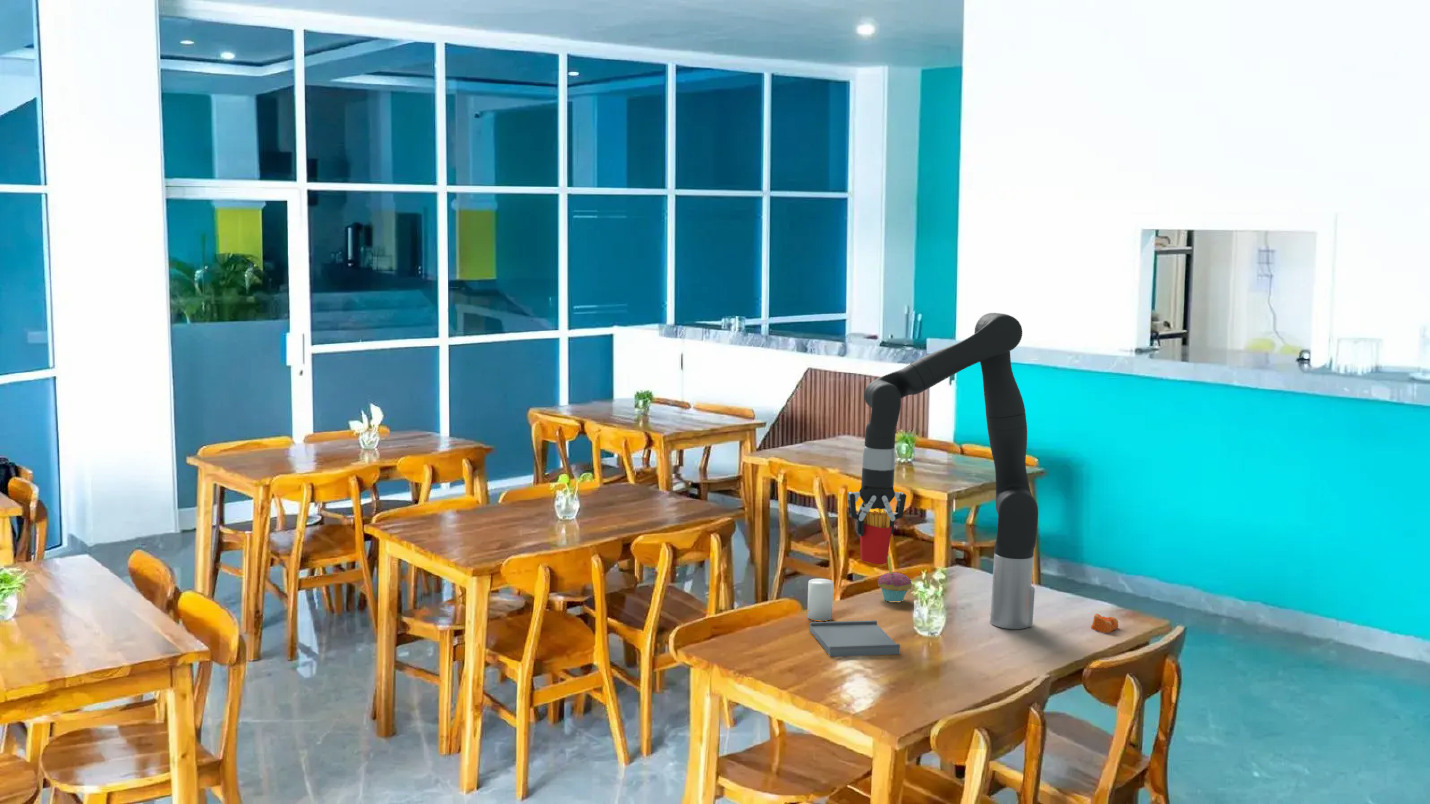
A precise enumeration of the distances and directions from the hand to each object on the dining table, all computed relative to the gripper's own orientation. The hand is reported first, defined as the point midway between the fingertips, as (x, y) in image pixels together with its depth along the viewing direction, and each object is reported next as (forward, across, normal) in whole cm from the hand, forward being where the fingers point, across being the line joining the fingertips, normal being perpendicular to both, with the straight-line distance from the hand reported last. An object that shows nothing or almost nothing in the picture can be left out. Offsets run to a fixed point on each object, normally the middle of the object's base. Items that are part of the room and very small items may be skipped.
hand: (874, 535), depth 313 cm
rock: (+22, -57, +7) cm, 61 cm away
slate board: (+22, +7, +12) cm, 26 cm away
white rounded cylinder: (+22, +11, -7) cm, 25 cm away
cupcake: (+22, -12, -20) cm, 32 cm away
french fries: (+6, 0, 0) cm, 6 cm away
